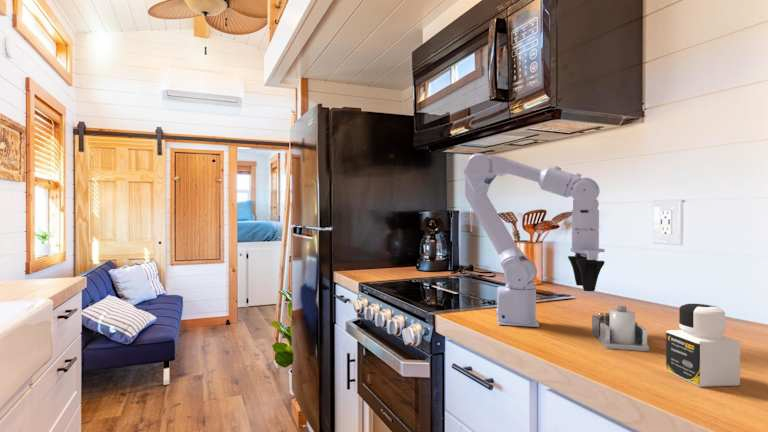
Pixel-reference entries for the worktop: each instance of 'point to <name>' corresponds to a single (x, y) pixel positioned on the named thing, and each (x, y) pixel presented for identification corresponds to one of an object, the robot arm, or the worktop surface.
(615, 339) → the white cylinder
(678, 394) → the worktop surface
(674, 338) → the medicine bottle
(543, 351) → the worktop surface
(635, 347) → the grey tray
